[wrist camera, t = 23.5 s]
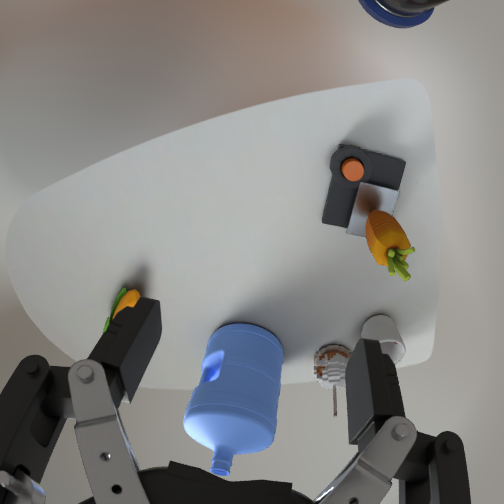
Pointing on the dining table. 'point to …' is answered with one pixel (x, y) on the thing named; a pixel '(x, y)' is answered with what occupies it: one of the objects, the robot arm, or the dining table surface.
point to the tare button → (352, 169)
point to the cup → (385, 336)
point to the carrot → (388, 242)
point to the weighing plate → (370, 205)
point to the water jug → (236, 394)
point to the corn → (122, 303)
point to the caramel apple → (331, 368)
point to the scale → (344, 191)
